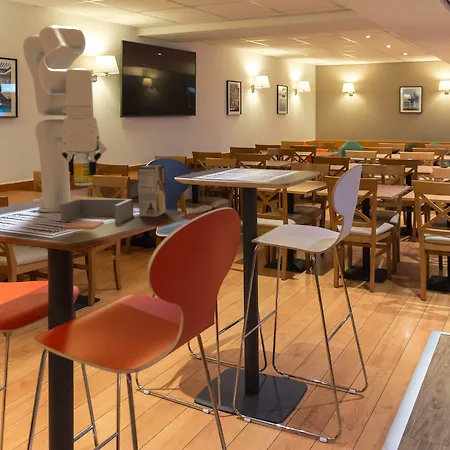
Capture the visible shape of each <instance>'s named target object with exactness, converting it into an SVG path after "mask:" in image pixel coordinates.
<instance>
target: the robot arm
mask: <svg viewBox="0 0 450 450" xmlns="http://www.w3.org/2000/svg"><path fill="white" fill-rule="evenodd" d="M22 46H23V55H24V56H23V57H24V59H25V62H26V65H27V68H28V69H29V70H28V71H30V75H31V77H32V82H33V88H34V96H35V105H36V109H37V112H38V114H39V115H40V116H43V117H47V118H54V119H44V120H41V121H39V122H37V123H36V125H35V129H34V130H35V132H34V133H35V138H36V142H37V146H38V155H39V165H40V180H41V193H42V195H41V196H42V197H39V198H33V199H32V205H39V207H38V211H39V212H44V213H61V212H60V205H62V204H65V203H68V202H71V201H72V198H71V181H70V176H74V167H73V161H74V160H75V159H76V157H75V152H88V153H89V159H90V160H91V162H90V163H89V166H90V175H91V176H92V177H93V176H95V175H97V172H98V164H97V163H98V161H99V159H100V158H101V157H103V155H104V154H105V153H106V152H107V151H108V149H107V147H106V146H105V145H104V144H103V143H102V141H100V132H99V131H100V130H99V127H98V123H97V122H98V121H97V119H96V117H94V98H93V97H94V96H93V77H92V76H93V75H92V72H91V70H89V69H86V68H70V67H71V66H72V65H73V63H74V61H76V60H77V59H78V58H79V57H80V56H81V55H83V53H84V52H85V48H86V38H85V35H84V33H83V31H82V30H81V29H79V28H78V27H75V26H61V25H59V26H58V25H47V26H44V27H43V28H41V30H40V32H39V34H33V35H29V36H27V37H26V38H25V39H24V41H23V44H22ZM55 117H58V118H59V117H60V119H56V118H55ZM61 118H63V119H61ZM97 151H98V152H97Z"/></svg>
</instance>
